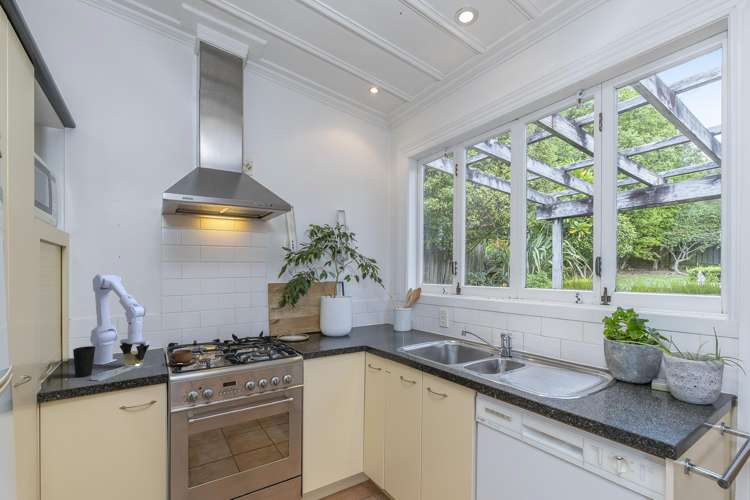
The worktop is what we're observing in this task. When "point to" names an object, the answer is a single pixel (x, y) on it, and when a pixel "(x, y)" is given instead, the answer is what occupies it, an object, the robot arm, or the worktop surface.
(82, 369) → the cup
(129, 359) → the yellowish glass tumbler
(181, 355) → the cup and saucer
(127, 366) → the ratchet
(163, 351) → the worktop surface
